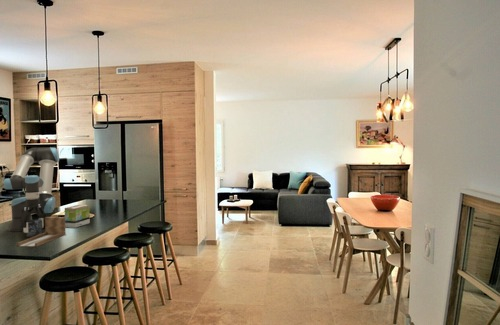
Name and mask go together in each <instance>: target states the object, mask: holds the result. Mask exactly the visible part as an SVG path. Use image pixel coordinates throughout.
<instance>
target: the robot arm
mask: <svg viewBox="0 0 500 325" xmlns="http://www.w3.org/2000/svg"><path fill="white" fill-rule="evenodd" d="M18 160H19V161H18V162H17V164H16V167H15V169H14V171H13V173H12V175H11V176H10V178H9V177H8V178H5V179H4V180H3V187H4V189H5V190H25V196H22V197H21V196H20V197H17V198H13V199H12V200H11V201H10V202H11V206H10V207H11V221H10V224H9V225H10V226H9V227H8V228H9V231H10V232H13V233H14V232H23V233H25V234H26V233H28V222H27V221H28V220H34V219H33V217H32V215H37V216H38V217H39V218H38V219H42V229H43V228H44V223H45V217H47V214H50V213H53V212H54V210H55V207H56V197H54V194H52V188H53V177H54V169H55V168H54V167H55V166H56V165H57V163H58V162H60V155H59V151H58V149H57V148H56V147H51V146H50V147H31V148H29V149H26V150H25V151H24V152H22V153H21V155H20V156H19V157H18ZM34 163H38V164H39V165H40V169H39V170H40V171H39V175H35V174H33V175H32V174H31V175H28V172H29V169H30V167H31V166H32V165H33V164H34Z"/></svg>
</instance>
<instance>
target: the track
mask: <svg viewBox="0 0 500 325" xmlns="http://www.w3.org/2000/svg"><path fill="white" fill-rule="evenodd" d="M44 226H45V227H44V228H45V230H44V232H42V234H39V235H37V236H34V237H28V238H26V239H24V240H21V241H19V242H16V247H35V248H36V247H37V248H38V247H40V246H42V245H44V244H47V243H49V242H51V241H54V240H56V239H59V238H61V237H64V236H65V235H66V227H65V216H62V217H61V216H45V218H44Z"/></svg>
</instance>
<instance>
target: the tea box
mask: <svg viewBox="0 0 500 325" xmlns="http://www.w3.org/2000/svg"><path fill="white" fill-rule="evenodd" d="M64 217H65V228H73V229H74V228H75V229H77V228H79V227H81V226H85V225H88V224H90V222H91V221H90V220H91V218H90V217H91V216H90V205H89V204H75V205H72V206H67V207H64Z"/></svg>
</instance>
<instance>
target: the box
mask: <svg viewBox="0 0 500 325" xmlns="http://www.w3.org/2000/svg"><path fill="white" fill-rule="evenodd" d="M27 222H28V233H25V238H31V237H34V236H37V235H39V234H42V233H43V228H42V219H39V218H38V219H33V220H28V221H27Z"/></svg>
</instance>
